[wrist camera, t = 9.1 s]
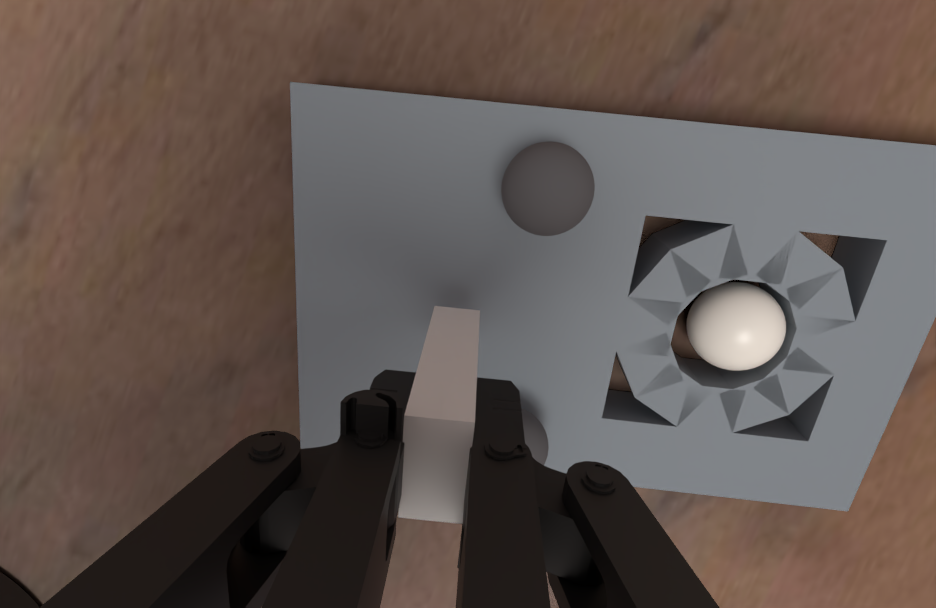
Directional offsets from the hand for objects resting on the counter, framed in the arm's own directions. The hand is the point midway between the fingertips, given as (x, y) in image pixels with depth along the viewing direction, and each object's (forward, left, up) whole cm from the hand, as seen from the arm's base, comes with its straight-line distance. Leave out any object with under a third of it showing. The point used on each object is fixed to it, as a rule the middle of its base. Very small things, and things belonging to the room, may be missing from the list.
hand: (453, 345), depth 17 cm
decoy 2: (+3, +5, -2) cm, 6 cm away
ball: (+11, 0, -4) cm, 11 cm away
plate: (+6, 0, -6) cm, 8 cm away
